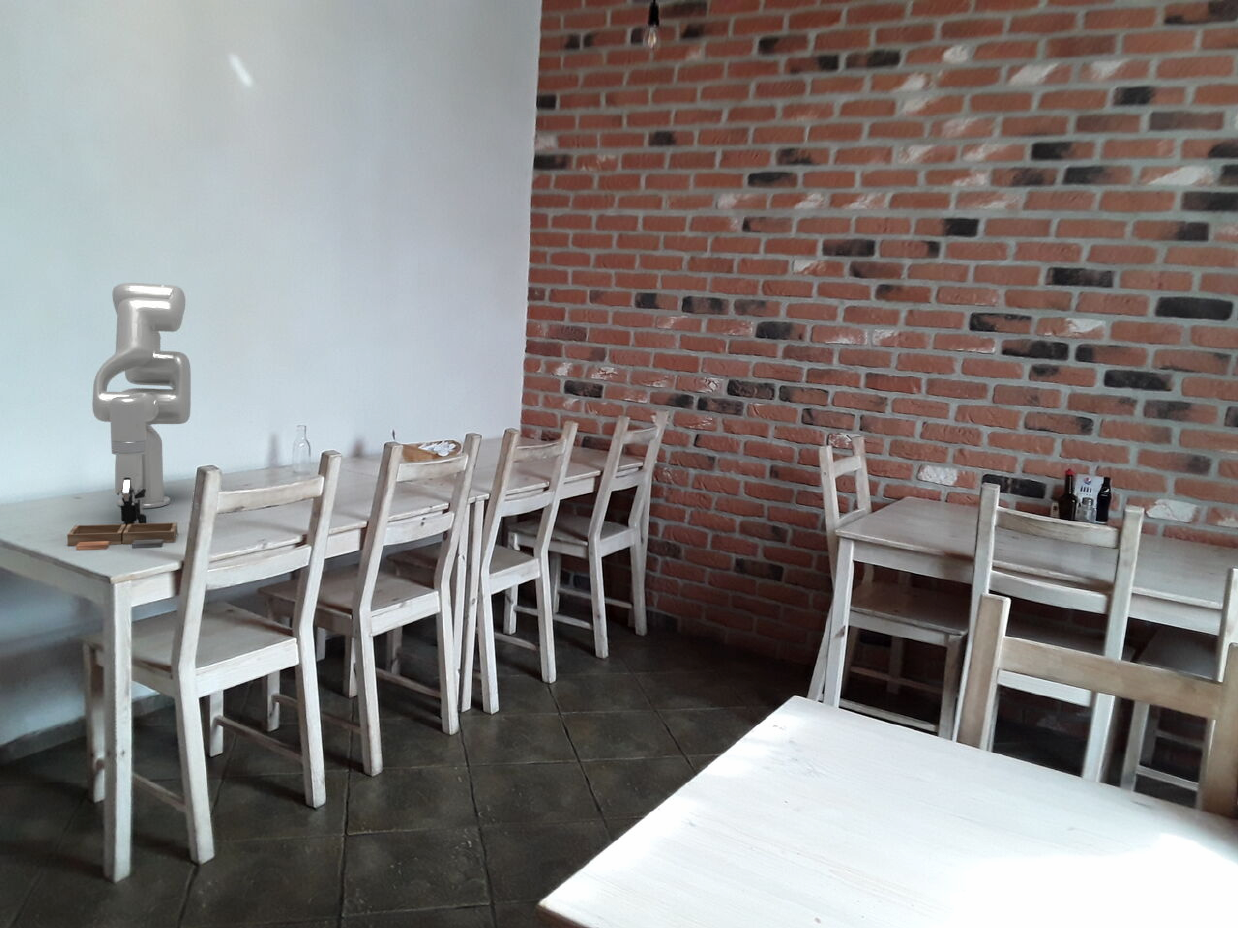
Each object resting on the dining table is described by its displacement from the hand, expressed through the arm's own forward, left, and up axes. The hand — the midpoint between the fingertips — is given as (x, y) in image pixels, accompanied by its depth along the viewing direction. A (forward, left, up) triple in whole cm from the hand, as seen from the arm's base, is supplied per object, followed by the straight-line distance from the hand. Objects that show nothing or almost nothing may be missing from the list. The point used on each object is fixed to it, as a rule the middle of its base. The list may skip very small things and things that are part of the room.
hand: (131, 516), depth 216 cm
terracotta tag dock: (+14, -5, -2) cm, 15 cm away
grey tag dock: (+14, +5, -2) cm, 15 cm away
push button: (0, 0, -3) cm, 3 cm away
